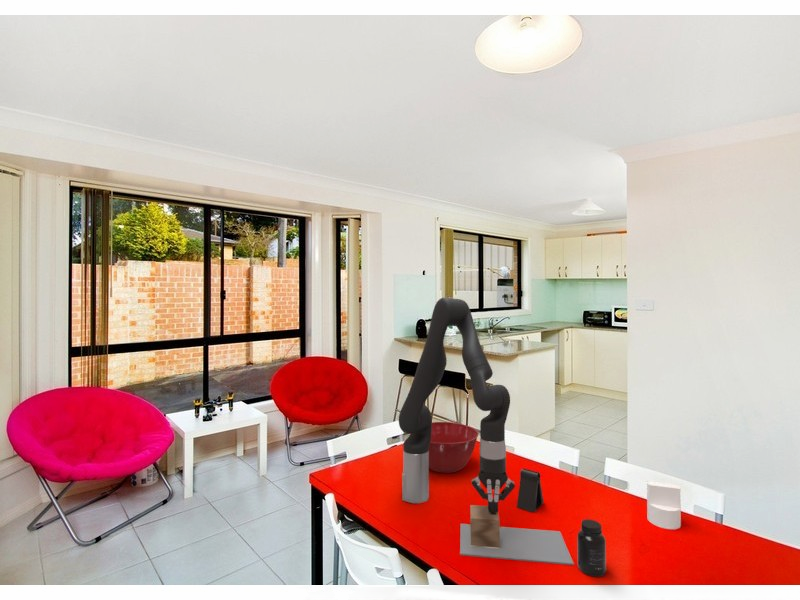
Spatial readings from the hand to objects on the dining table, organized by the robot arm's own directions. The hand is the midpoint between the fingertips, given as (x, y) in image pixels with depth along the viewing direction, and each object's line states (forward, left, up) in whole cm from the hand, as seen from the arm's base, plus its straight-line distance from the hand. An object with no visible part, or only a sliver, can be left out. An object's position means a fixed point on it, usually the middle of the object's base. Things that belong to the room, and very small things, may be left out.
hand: (493, 513), depth 122 cm
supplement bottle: (+25, -9, -9) cm, 28 cm away
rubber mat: (+5, 0, -8) cm, 10 cm away
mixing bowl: (-17, +54, -9) cm, 57 cm away
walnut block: (-3, 0, -8) cm, 8 cm away
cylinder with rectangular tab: (+54, +19, -9) cm, 58 cm away
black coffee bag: (+14, +25, -9) cm, 30 cm away
